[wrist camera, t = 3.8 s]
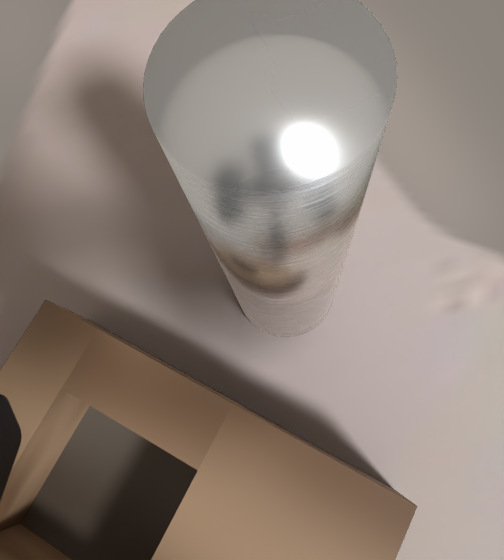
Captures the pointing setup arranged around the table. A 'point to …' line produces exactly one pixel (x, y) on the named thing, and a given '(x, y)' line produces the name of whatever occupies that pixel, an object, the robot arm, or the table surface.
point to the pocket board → (168, 465)
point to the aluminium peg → (274, 140)
